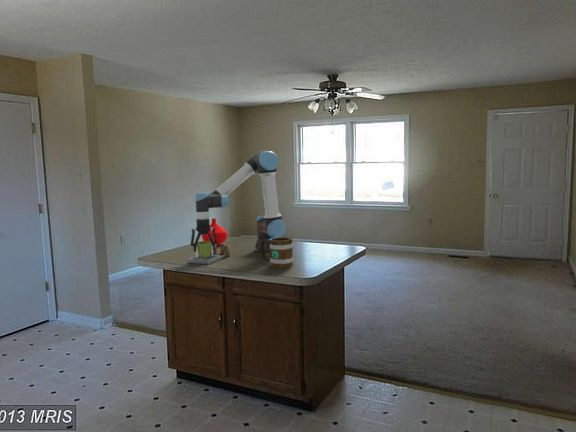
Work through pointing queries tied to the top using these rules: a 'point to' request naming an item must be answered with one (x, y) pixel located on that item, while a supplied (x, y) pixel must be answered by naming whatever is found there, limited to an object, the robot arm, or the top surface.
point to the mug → (279, 252)
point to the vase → (216, 233)
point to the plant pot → (204, 248)
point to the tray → (204, 259)
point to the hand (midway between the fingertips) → (204, 256)
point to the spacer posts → (222, 249)
